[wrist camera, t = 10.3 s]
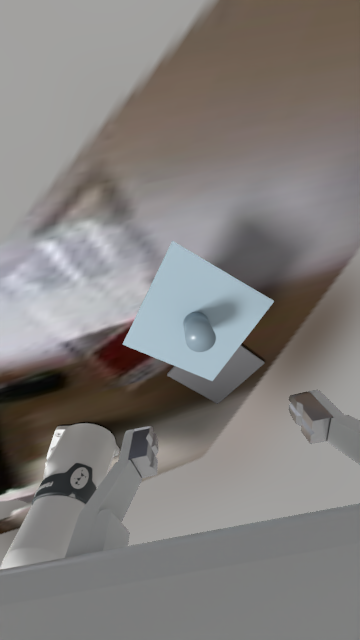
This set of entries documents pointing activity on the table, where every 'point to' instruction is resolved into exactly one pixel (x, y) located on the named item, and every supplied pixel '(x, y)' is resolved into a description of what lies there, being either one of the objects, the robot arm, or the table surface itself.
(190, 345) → the lid
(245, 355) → the grey flat square plate
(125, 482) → the robot arm
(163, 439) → the table surface
